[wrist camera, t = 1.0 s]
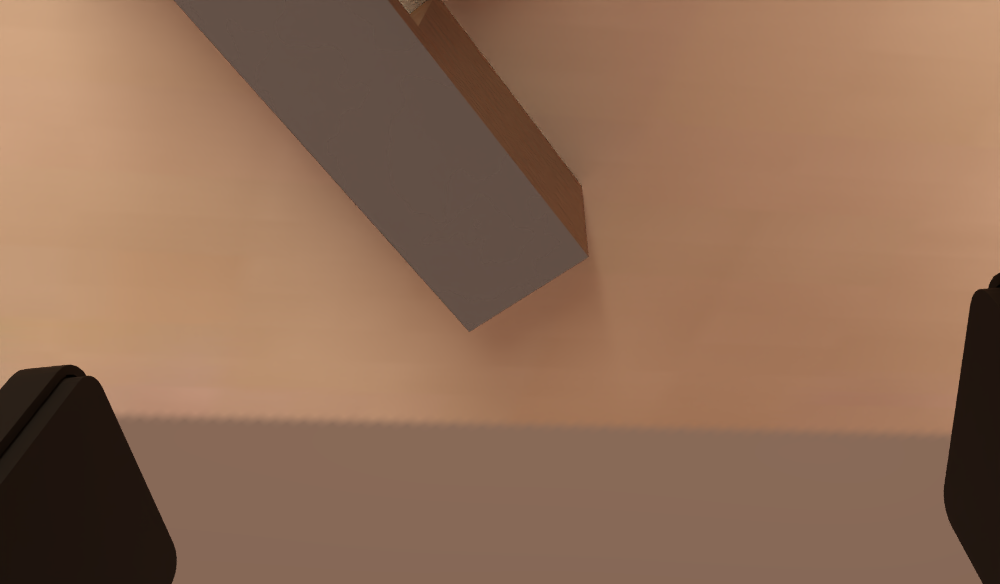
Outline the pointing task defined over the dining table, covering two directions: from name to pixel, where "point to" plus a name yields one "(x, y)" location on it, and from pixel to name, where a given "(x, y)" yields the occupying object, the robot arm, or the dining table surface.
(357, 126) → the grey bridge bar
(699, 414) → the dining table surface
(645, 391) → the dining table surface
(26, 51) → the dining table surface
